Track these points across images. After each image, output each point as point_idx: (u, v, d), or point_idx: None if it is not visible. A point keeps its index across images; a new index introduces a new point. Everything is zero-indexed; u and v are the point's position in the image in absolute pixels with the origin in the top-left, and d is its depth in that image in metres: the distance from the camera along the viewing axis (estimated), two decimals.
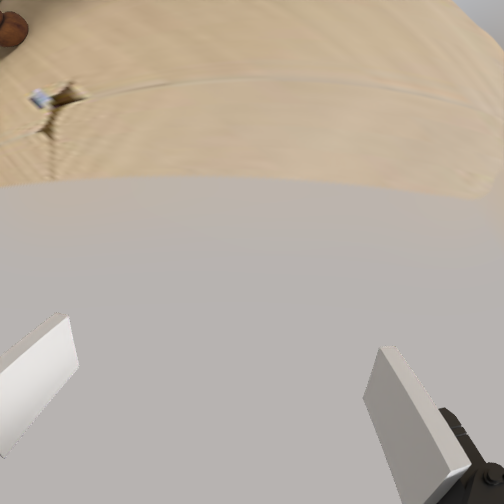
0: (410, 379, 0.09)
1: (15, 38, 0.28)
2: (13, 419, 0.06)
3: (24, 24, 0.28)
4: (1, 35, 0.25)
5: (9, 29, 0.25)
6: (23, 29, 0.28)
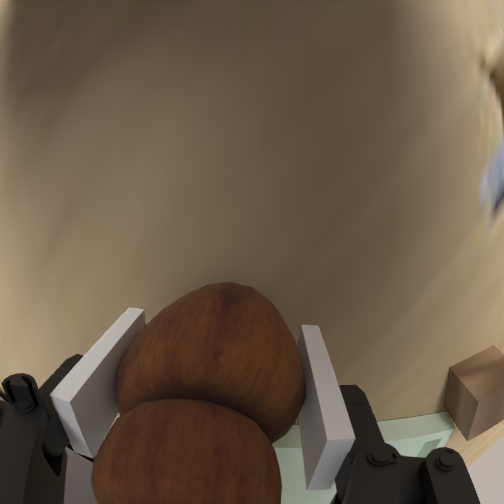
0: (319, 353, 0.10)
1: (281, 318, 0.11)
2: (102, 415, 0.08)
3: (206, 288, 0.12)
4: (291, 385, 0.08)
5: (262, 338, 0.08)
6: (236, 286, 0.12)
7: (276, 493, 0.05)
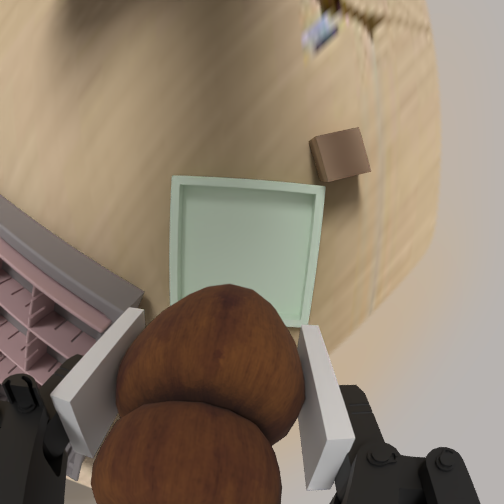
0: (319, 353, 0.10)
1: (281, 319, 0.11)
2: (102, 415, 0.08)
3: (206, 289, 0.12)
4: (291, 388, 0.08)
5: (262, 341, 0.08)
6: (236, 288, 0.12)
7: (276, 495, 0.05)
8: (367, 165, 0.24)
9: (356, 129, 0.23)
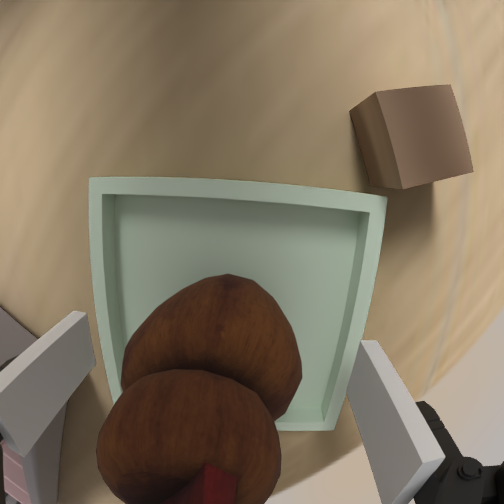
0: (388, 372, 0.09)
1: None
2: (33, 417, 0.07)
3: (208, 278, 0.13)
4: (287, 362, 0.09)
5: (260, 317, 0.09)
6: (235, 276, 0.13)
7: (275, 457, 0.06)
8: (467, 159, 0.10)
9: (447, 88, 0.09)
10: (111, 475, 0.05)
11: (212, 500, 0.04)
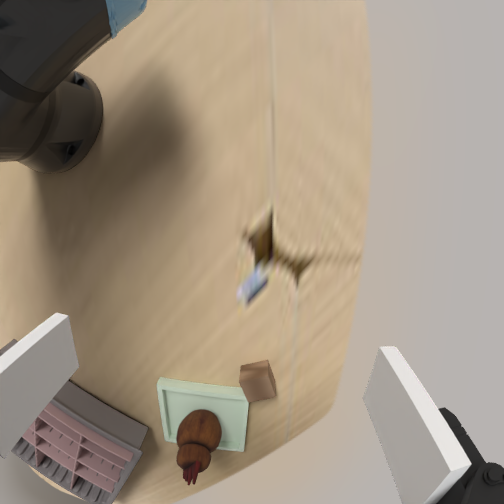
0: (410, 379, 0.09)
1: (215, 422, 0.40)
2: (13, 419, 0.06)
3: (197, 414, 0.41)
4: (214, 441, 0.37)
5: (208, 432, 0.37)
6: (204, 414, 0.41)
7: (207, 459, 0.34)
8: (272, 394, 0.38)
9: (266, 377, 0.38)
10: (180, 462, 0.33)
11: (197, 465, 0.32)
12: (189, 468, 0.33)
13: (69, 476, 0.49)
